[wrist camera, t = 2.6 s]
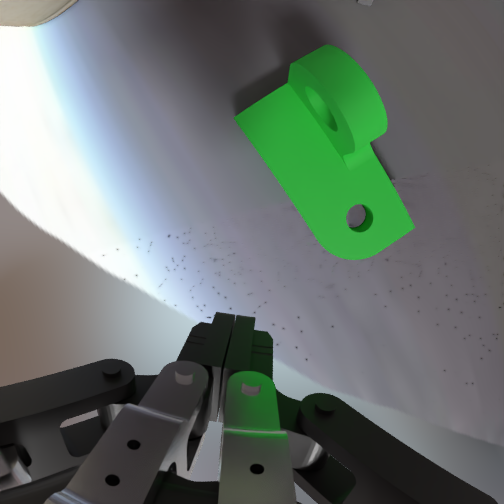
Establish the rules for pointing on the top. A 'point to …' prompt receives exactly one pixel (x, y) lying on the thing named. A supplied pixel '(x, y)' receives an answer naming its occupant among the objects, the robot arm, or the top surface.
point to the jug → (31, 11)
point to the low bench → (365, 2)
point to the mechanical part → (329, 152)
